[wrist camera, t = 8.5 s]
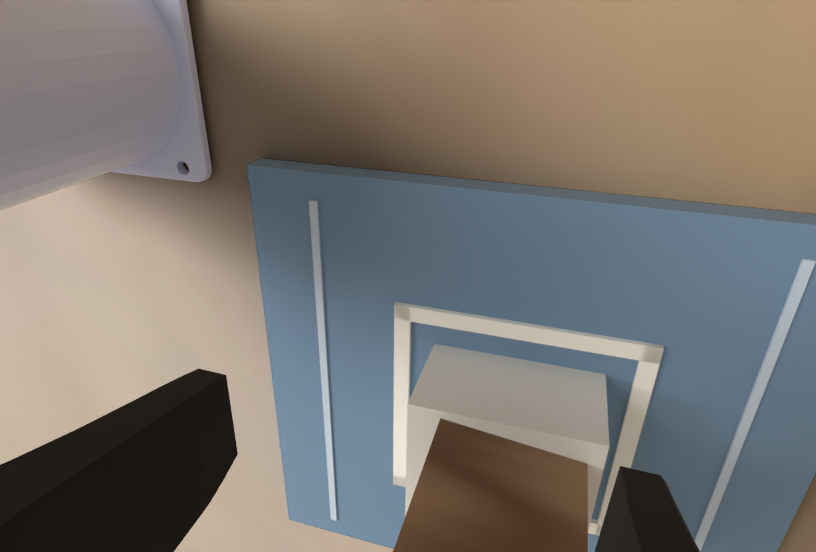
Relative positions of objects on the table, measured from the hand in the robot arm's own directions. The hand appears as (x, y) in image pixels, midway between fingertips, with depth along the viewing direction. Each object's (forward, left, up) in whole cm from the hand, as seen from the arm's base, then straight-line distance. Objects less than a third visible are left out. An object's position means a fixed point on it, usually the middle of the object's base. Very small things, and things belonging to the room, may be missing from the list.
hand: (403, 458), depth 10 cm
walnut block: (+1, -7, -6) cm, 9 cm away
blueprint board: (+1, -7, -10) cm, 12 cm away
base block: (+1, -7, -9) cm, 12 cm away
